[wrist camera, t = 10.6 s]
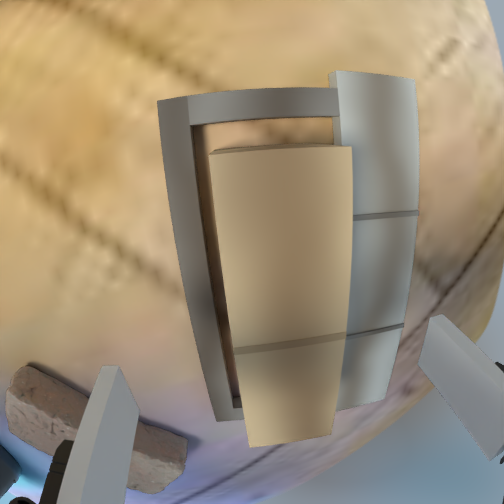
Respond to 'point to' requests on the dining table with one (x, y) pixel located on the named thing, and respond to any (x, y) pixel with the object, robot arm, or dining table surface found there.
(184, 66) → the dining table surface
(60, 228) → the dining table surface
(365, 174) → the floor panel
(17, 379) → the brick
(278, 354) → the plank
